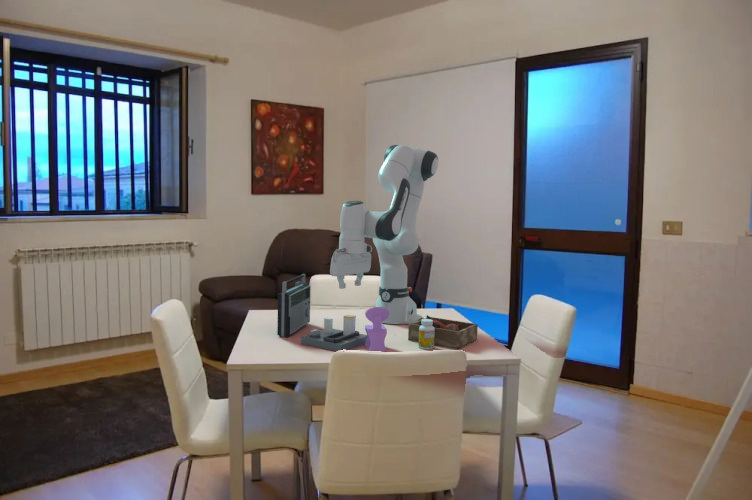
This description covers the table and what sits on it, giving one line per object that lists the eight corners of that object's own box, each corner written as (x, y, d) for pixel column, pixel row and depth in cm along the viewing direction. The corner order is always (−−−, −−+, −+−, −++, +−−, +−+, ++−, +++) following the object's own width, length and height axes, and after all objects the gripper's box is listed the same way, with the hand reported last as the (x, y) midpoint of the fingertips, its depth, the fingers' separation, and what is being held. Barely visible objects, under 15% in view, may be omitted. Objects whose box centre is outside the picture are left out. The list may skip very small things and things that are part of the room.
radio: (291, 338, 217) (292, 283, 215) (277, 336, 218) (278, 282, 216) (311, 323, 241) (312, 274, 239) (299, 322, 242) (300, 273, 240)
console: (330, 334, 223) (330, 314, 223) (368, 342, 214) (369, 321, 213) (301, 344, 209) (301, 322, 208) (340, 352, 200) (341, 330, 199)
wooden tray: (428, 332, 232) (429, 316, 232) (477, 340, 222) (477, 324, 221) (408, 340, 219) (408, 323, 218) (458, 349, 208) (459, 332, 208)
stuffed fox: (418, 318, 222) (443, 312, 228) (430, 346, 218) (455, 340, 225) (429, 310, 216) (454, 305, 223) (441, 339, 212) (466, 333, 219)
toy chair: (385, 345, 211) (386, 302, 210) (389, 351, 203) (391, 307, 201) (361, 345, 210) (362, 302, 208) (365, 352, 201) (366, 308, 200)
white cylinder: (347, 333, 215) (348, 314, 214) (355, 335, 213) (355, 315, 213) (343, 335, 213) (343, 315, 212) (350, 336, 211) (351, 317, 210)
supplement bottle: (417, 345, 212) (418, 318, 211) (432, 345, 212) (433, 318, 211) (419, 349, 206) (420, 321, 205) (435, 349, 207) (436, 321, 206)
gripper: (341, 250, 200) (340, 291, 201) (374, 247, 217) (373, 285, 218) (326, 248, 203) (324, 289, 204) (360, 245, 220) (358, 283, 221)
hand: (350, 287), depth 211 cm, fingers open, 8 cm apart
